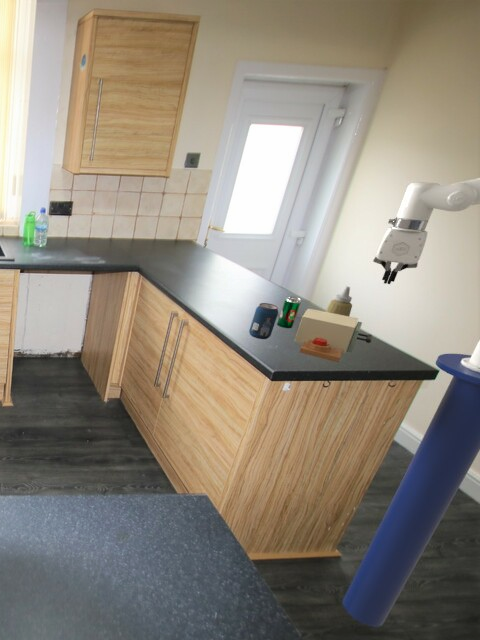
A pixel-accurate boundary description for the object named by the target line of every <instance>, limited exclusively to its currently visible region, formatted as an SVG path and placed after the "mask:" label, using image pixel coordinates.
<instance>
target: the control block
mask: <svg viewBox="0 0 480 640" xmlns="http://www.w3.org/2000/svg"><path fill="white" fill-rule="evenodd" d="M313 342H314V340H309V341H308V342H305V341H304V343H303V344H302V345H301V346H300V348H299V351H298V353H300V354H303V355H308V356H312V357H317V358H320V359H324V360H327V361H332V362H336V363H339V362H340V359H341V357H342V355H343V354H342V350H338V349H334V348H331V346H332V345H330V344H329V343H327V344H326V346H320V345H316V344H314V343H313Z"/></svg>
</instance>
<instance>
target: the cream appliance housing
mask: <svg viewBox="0 0 480 640" xmlns="http://www.w3.org/2000/svg"><path fill="white" fill-rule="evenodd" d="M306 309H307V310H305V312H304V314H303V315H302V316H301V317H302V318H301V320H300V322H299V326H298V329H297V332H296V335H295V337H294V341H293V342H294V343H298V344H302V345H303V343H304V341H305V342H308V341H309V340H314V339H315V338H322V339H325V340H327V343H329V344H330V345H332V346H331V348H334V349H338V350H342V354H341V355H346V353H347V350H348V347H349V344H350V341H351V338H352V336H353V333H354V330H355V328H356V325H357V323H358V321H359V318H357V317H353V316H344V315H339V314H334V313H329V312H326V311H324V310H318V309H314V308H306Z"/></svg>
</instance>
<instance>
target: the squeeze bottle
mask: <svg viewBox="0 0 480 640" xmlns="http://www.w3.org/2000/svg"><path fill="white" fill-rule="evenodd" d="M350 291H351V287H350V286H345V288H344V289H343V290H342V292H341V293H339V294H338V293H337V294H336V295H335V299H332V300H330V302H329V304H328V306H327V308H326V310H325V312H329V313H334V314H339V315H344V316H349V317H351V316H350V315H351V312H352V308H353V304H352V303H351V302H352V299H353V297H352V296H350Z"/></svg>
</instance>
